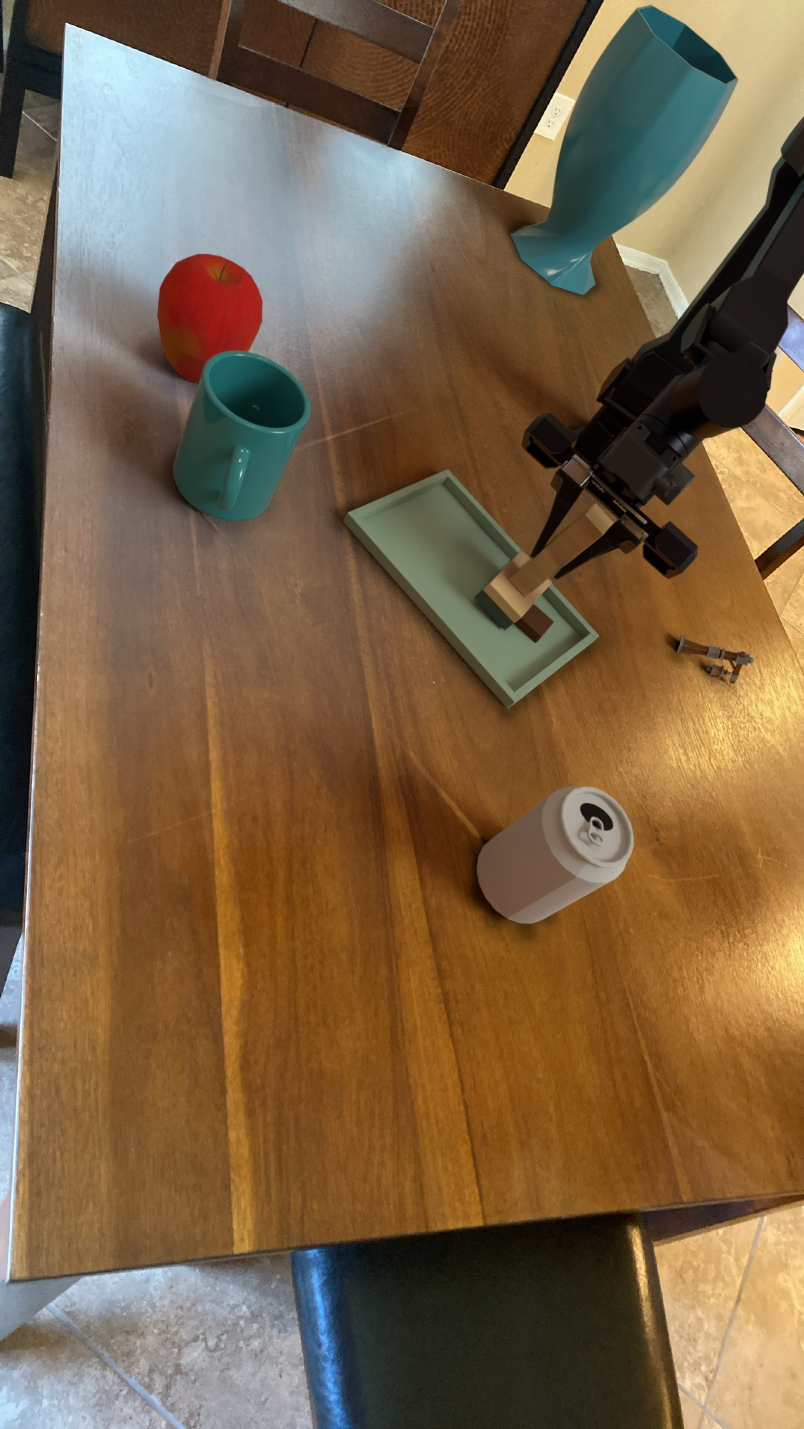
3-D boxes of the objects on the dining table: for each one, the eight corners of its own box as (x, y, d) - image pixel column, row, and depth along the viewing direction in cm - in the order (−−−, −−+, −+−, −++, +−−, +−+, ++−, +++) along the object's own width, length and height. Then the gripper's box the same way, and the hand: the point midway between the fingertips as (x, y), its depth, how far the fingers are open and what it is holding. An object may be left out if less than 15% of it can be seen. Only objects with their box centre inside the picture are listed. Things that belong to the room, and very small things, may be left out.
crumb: (525, 608, 87) (531, 601, 86) (547, 628, 87) (554, 621, 86) (512, 623, 85) (519, 616, 84) (535, 643, 85) (542, 636, 84)
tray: (440, 480, 92) (447, 468, 91) (589, 645, 89) (599, 635, 88) (340, 524, 82) (347, 512, 81) (504, 711, 80) (514, 702, 78)
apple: (229, 345, 88) (265, 238, 79) (248, 410, 85) (287, 306, 76) (136, 329, 84) (163, 213, 74) (152, 397, 80) (182, 284, 71)
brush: (506, 563, 88) (598, 482, 77) (535, 595, 88) (630, 519, 77) (473, 597, 83) (566, 516, 73) (504, 630, 84) (601, 555, 73)
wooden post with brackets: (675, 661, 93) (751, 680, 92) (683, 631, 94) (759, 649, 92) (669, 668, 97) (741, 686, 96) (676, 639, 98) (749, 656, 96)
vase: (522, 281, 122) (660, 54, 100) (491, 207, 130) (613, -21, 107) (615, 312, 131) (763, 108, 108) (581, 239, 138) (712, 35, 115)
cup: (155, 529, 73) (187, 430, 64) (180, 434, 79) (211, 333, 71) (259, 563, 76) (302, 473, 67) (274, 469, 82) (315, 376, 74)
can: (558, 865, 73) (649, 807, 64) (540, 943, 69) (636, 893, 60) (484, 823, 72) (566, 758, 63) (460, 900, 67) (545, 842, 58)
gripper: (599, 333, 70) (468, 480, 72) (770, 488, 70) (635, 632, 71) (581, 379, 81) (467, 505, 83) (729, 513, 81) (612, 637, 82)
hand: (543, 567), depth 79 cm, fingers closed on brush, 2 cm apart
